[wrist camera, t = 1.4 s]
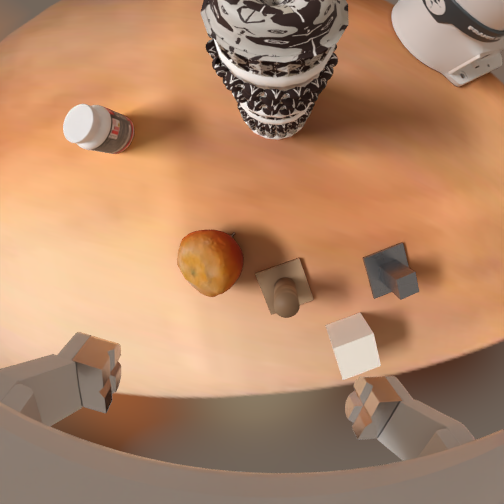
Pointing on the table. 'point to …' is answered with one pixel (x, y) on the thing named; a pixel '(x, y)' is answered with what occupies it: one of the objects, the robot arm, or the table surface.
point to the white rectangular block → (353, 345)
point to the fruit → (210, 261)
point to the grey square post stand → (391, 273)
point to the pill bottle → (98, 129)
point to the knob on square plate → (285, 288)
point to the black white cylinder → (274, 56)
